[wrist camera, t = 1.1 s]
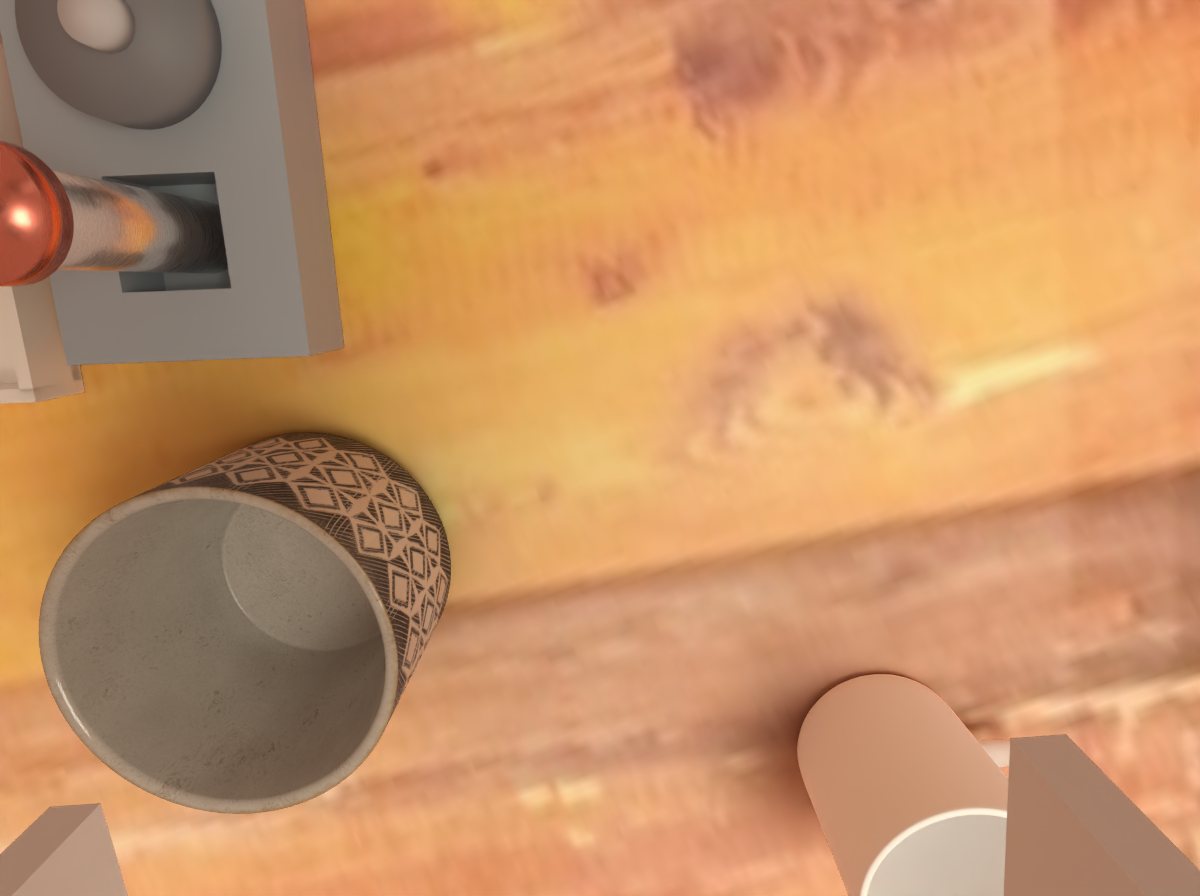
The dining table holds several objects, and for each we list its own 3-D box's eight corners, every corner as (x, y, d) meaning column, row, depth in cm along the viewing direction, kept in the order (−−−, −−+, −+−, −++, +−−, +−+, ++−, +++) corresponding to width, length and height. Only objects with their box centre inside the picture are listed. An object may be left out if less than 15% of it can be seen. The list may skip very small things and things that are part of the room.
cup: (784, 681, 37) (848, 826, 27) (1022, 644, 37) (1176, 778, 27) (803, 820, 39) (870, 1003, 29) (1030, 786, 38) (1178, 961, 29)
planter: (507, 531, 36) (468, 631, 25) (363, 714, 38) (274, 873, 28) (287, 373, 34) (151, 411, 24) (151, 574, 36) (-26, 688, 26)
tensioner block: (59, -32, 30) (-89, -117, 24) (299, -43, 30) (215, -132, 24) (129, 355, 34) (16, 372, 27) (344, 347, 34) (282, 362, 27)
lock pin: (154, 191, 31) (-125, 134, 19) (247, 187, 31) (25, 128, 19) (170, 287, 32) (-88, 289, 20) (260, 283, 32) (55, 283, 20)
